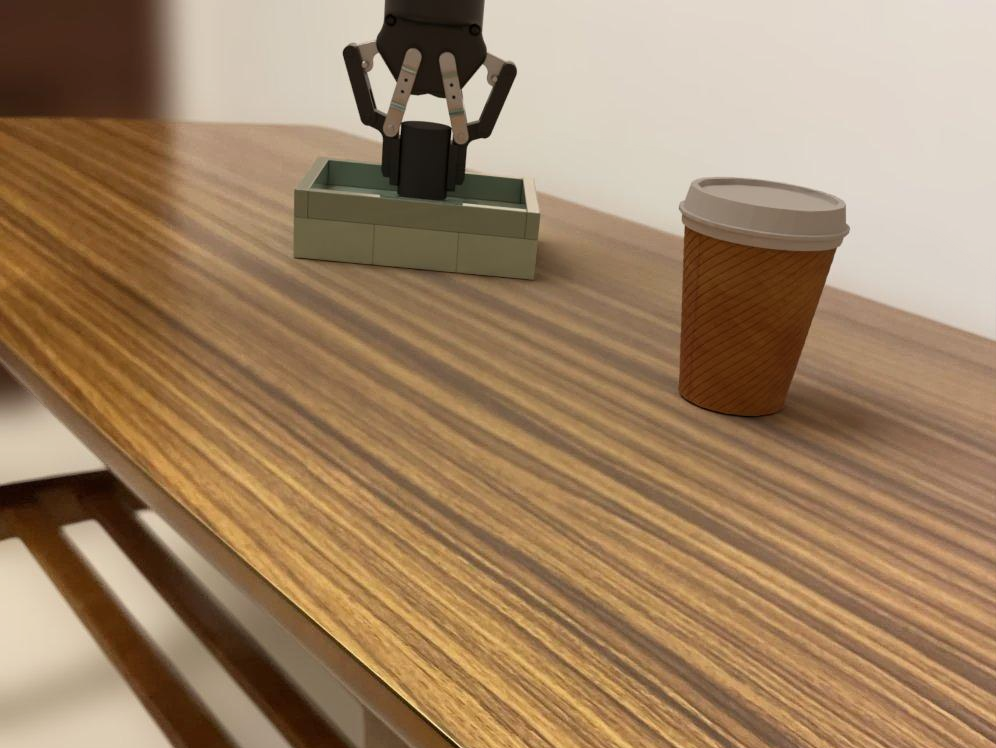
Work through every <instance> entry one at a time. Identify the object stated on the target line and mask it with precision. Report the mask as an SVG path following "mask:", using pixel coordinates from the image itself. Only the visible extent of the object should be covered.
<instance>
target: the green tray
mask: <svg viewBox="0 0 996 748" xmlns="http://www.w3.org/2000/svg"><path fill="white" fill-rule="evenodd" d="M324 190H335V191H345V192H355V193H365V194H375V195H385V196H395V197H402V196H399V195H398V194H397V191H391V190H381V189H370V188H360V187H350V186H340V185H330V184H327V186H326V188H325V189H324ZM441 201H446V202H456V203H466V204H476V205H486V206H497V207H507V208H517V209H521V204H520V203H512V202H502V201H491V200H481V199H471V198H461V197H451V196H447V198H446V199H445V200H441ZM538 240H539V239H538ZM538 240H531V239H525V238H524V239H520V238H510V237H500V236H489V235H479V234H469V233H458V232H448V231H438V230H427V229H417V228H407V227H396V226H386V225H376V224H365V223H355V222H345V221H334V220H324V219H314V218H308V217H307V218H302V217H294V216H293V240H292V241H293V243H292V244H293V247H292V249H293V251H292V256H293V258H295V259H296V258H298V259H308V260H319V261H329V262H339V263H351V264H361V265H370V266H371V265H372V266H384V267H392V268H403V269H404V268H405V269H413V270H426V271H435V272H445V273H446V272H447V273H456V274H467V275H476V276H477V275H478V276H486V277H487V276H488V277H498V278H507V279H509V278H510V279H520V280H530V281H534V280H535V274H536V273H535V271H536V264H537V263H536V261H537V251H538V243H539V241H538Z"/></svg>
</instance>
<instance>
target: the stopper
mask: <svg viewBox="0 0 996 748" xmlns="http://www.w3.org/2000/svg"><path fill="white" fill-rule="evenodd" d="M399 135H400V138H401V141H400V159H399V177H398V187H397V194H398V195H399V196H402V197H405V198H416V199H426V200H436V201H441V200H445V199H446V198H447V191H446V188H447V174H448V160H449V146H450V143H451V140H452V127H451V125H447V124H444V123H439V122H434V121H425V120H403V121H402V122H401V125H400V133H399Z"/></svg>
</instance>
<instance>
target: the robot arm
mask: <svg viewBox="0 0 996 748" xmlns="http://www.w3.org/2000/svg"><path fill="white" fill-rule="evenodd" d="M485 3H486V0H384V10H383V23H382V26H381V29H380V30H379V32H378V33H377V35H376V39H372V40H369V41H365V42H361V43H356V42H350V43H348V44H347V45H346V46H345V47H344V48H343V49H342V57H343V62H344V65H345V69H346V72H347V75H348V80H349V83H350V87H351V91H352V95H353V98H354V101H355V104H356V108H357V112H358V115H359V119H360V122H361V123H362V124H363V125H364V126H366V127H371V128H372V129H375V130H376V131H378V132H379V133H380V135H381V137H382V144H381V145H382V146H381V147H382V148H381V163H382V165H381V171H382V174H383V177H388V178H389V185H393V186H398V177H399V159H400V141H401V138H400V133H401V123H402V122H403V119H404V116H405V113H406V110H407V107H408V103H409V101H410V97H411V96H418V97H419V96H424V95H430V96H433V97H436V98H438V99H445V100H446V106H447V112H448V116H449V122H450V127H451V128H452V132H451V134H452V137H451V143H450V146H449V160H448V174H447V188H446V191H449V192H455V185H462V183H463V181H464V179H465V171H466V166H467V154H468V153H467V152H468V146H469V144H470V143H472V142H473V141H476V140H480V139H489V138H490V137H491V135H492V133H493V131H494V128H495V127H496V124H497V121H498V119H499V117H500V114H501V113H502V110H503V107H504V105H505V104H506V101H507V99H508V96H509V94H510V91H511V89H512V87H513V84H514V82H515V79H516V78H517V76H518V67H517V65H516V63H514V61H512V60H505V59H503V58H501V57H500V56H499V57H498V56H496V55H495V54H493V53H491V52H489V51H488V47H487V45H486V42H485V40H484V36H483V28H484V16H485ZM377 54H379V56H380V57H381V59H382V61H383V62H384V64H385V66H386V67H387V69H388V71H389V72H390V74H391V76H392V77H393V79H394V81H395V82H396V83H395V84H396V85H395V87H394V90H393V93H392V97H391V100H390V103H389V107H388V110H387V113H386V112H384V111H381V110H379V109H378V107H377V103H376V99H375V95H374V93H373V89H372V84H371V81H370V78H369V72H371V71H372V70H373V68H374V67H375V57H376V55H377ZM482 66H484V67H485V68H486V71H487V74H486V81H487V82H486V83H488V85H489V86H490V87H491V90H490V92H489V95H488V97H487V99H486V102H485V104H484V106H483V109H482V110H481V114H480V116H479V118H478V119H476V120H473V121H470V122H468V118H467V111H466V106H465V105H466V104H465V98H464V92H463V89H464V88H465V86H466V85H467V84H468V83H469V82H470V80H471V79H472V78H473V77H474V75H475V74H477V72H478V71H479V69H480V68H482Z"/></svg>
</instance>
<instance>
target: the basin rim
mask: <svg viewBox="0 0 996 748" xmlns="http://www.w3.org/2000/svg"><path fill="white" fill-rule="evenodd" d="M381 165H382V162H376V161H369V160H368V161H366V160H357V159H349V158H348V159H346V158H337V157H328V156H327V157H326V156H317V157H316V158H315V160H314V161H313V163H312V164H311V165H310V167H309V169H308V170H307V171H306V173H305V174H304V176H303V177H302V178H301V180H300V181H299V182H298V184H297V185H296V187H295V188H294V189H293V218H294V217H302V218H307V217H308V218H314V219H324V220H334V221H345V222H355V223H365V224H376V225H386V226H396V227H407V228H417V229H427V230H438V231H448V232H458V233H469V234H479V235H489V236H500V237H510V238H520V239H524V238H525V239H531V240H539V234H540V233H539V232H540V222H541V209H540V204H539V199H538V193H537V187H536V182H535V178H533V177H524V176H516V175H507V174H497V173H495V174H494V173H487V172H486V173H485V172H475V171H467V170H465V179H464V181H463V183H462V185H455V192H449V191H447V196H451V197H461V198H471V199H481V200H491V201H502V202H512V203H520V204H521V209H517V208H507V207H497V206H486V205H476V204H466V203H456V202H446V201H436V200H426V199H416V198H405V197H395V196H385V195H375V194H365V193H355V192H345V191H335V190H324V189H325V188H326V186H327V184H330V185H340V186H350V187H360V188H370V189H381V190H391V191H397V187H398V186H393V185H389V178H388V177H383V174H382V171H381Z"/></svg>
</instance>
